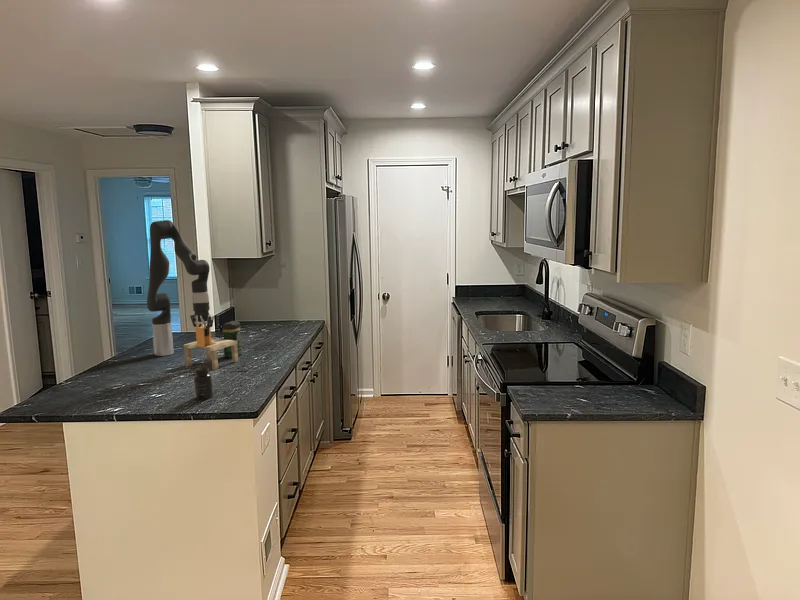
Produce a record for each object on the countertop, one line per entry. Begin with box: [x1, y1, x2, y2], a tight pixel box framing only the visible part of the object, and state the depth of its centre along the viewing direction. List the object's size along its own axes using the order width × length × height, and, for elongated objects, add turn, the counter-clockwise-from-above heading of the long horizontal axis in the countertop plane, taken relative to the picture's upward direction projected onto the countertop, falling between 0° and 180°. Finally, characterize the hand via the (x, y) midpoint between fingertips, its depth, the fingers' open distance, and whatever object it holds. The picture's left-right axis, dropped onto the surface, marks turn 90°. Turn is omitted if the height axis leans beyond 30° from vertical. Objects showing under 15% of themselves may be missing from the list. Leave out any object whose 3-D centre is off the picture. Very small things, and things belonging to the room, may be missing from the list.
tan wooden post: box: [195, 325, 212, 349], centre depth 263 cm, size 4×6×10 cm
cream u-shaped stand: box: [183, 337, 239, 370], centre depth 268 cm, size 20×16×11 cm
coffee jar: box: [222, 320, 243, 359], centre depth 282 cm, size 10×8×19 cm
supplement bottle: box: [193, 366, 214, 400], centre depth 215 cm, size 7×7×12 cm
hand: (203, 335), depth 263 cm, fingers closed on tan wooden post, 4 cm apart
